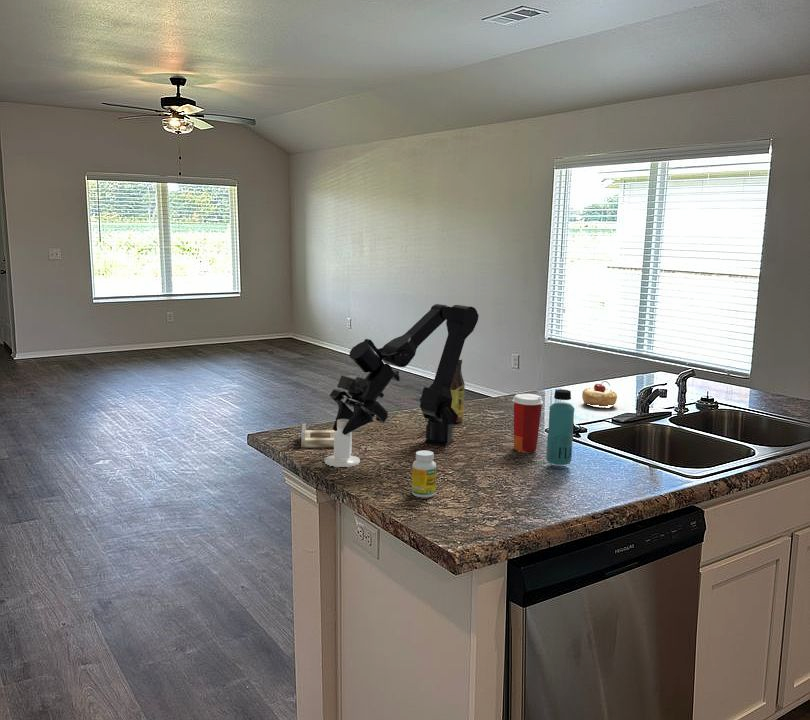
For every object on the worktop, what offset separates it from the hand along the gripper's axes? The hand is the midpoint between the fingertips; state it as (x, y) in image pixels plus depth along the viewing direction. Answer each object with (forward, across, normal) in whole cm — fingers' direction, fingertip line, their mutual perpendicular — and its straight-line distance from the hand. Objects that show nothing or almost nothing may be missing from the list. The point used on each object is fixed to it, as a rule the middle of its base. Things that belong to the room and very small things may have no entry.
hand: (338, 431), depth 183 cm
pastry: (-72, -3, +86) cm, 113 cm away
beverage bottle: (-25, +34, +38) cm, 57 cm away
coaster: (+5, 0, +6) cm, 8 cm away
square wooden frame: (+1, -18, +10) cm, 21 cm away
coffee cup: (-28, +19, +41) cm, 53 cm away
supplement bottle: (+4, +29, +8) cm, 31 cm away
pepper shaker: (+4, 0, +6) cm, 7 cm away
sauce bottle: (-32, -15, +44) cm, 56 cm away
